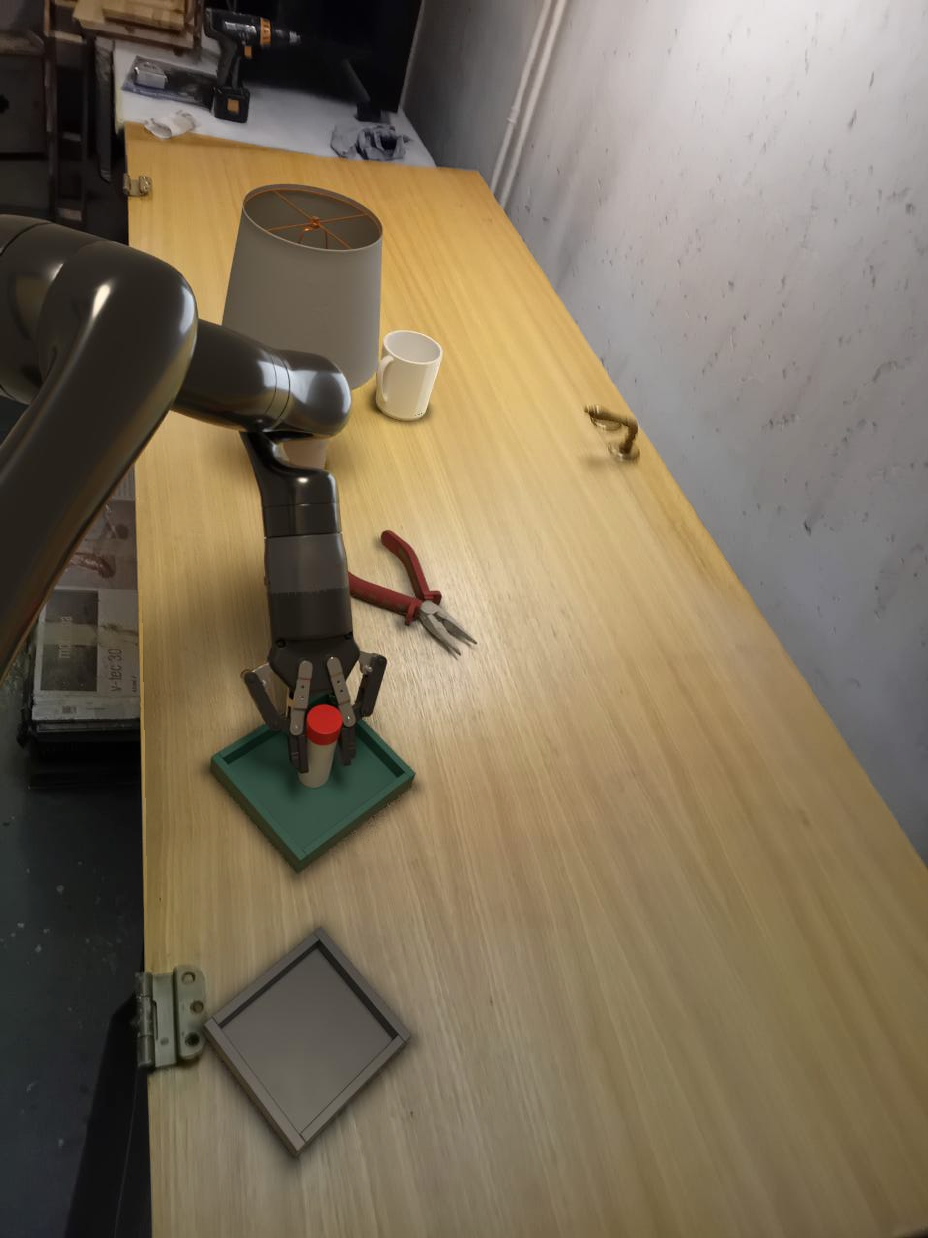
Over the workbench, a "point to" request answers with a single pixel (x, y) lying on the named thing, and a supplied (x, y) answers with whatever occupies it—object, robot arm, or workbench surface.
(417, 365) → the mug
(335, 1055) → the tray near
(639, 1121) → the workbench surface
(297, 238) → the lamp
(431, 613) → the pliers
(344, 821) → the tray far
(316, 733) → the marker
